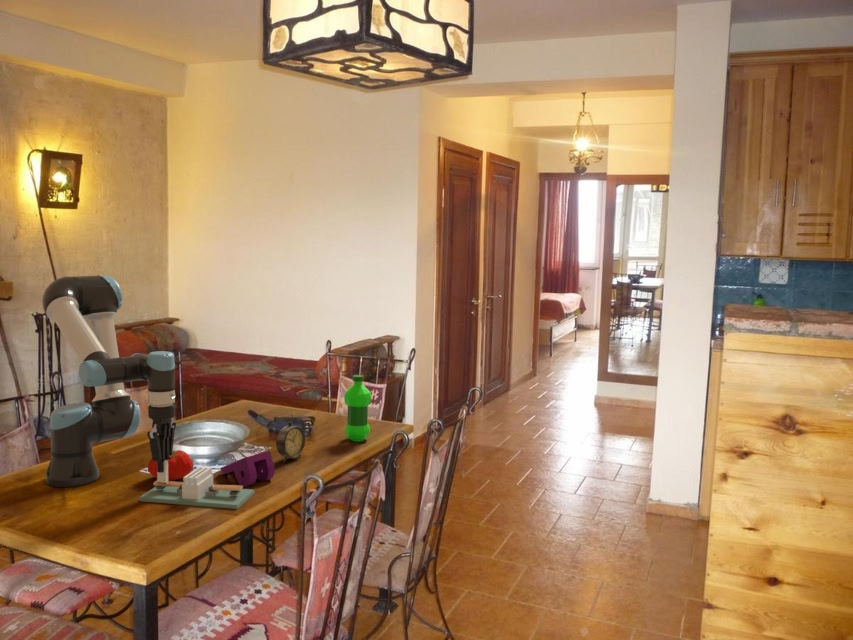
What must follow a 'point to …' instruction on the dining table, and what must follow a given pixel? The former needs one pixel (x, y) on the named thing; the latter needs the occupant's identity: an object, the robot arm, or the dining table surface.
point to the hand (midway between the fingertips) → (162, 481)
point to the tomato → (174, 466)
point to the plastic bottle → (357, 410)
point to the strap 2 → (226, 487)
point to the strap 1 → (169, 484)
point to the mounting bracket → (251, 468)
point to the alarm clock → (290, 441)
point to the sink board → (203, 501)
